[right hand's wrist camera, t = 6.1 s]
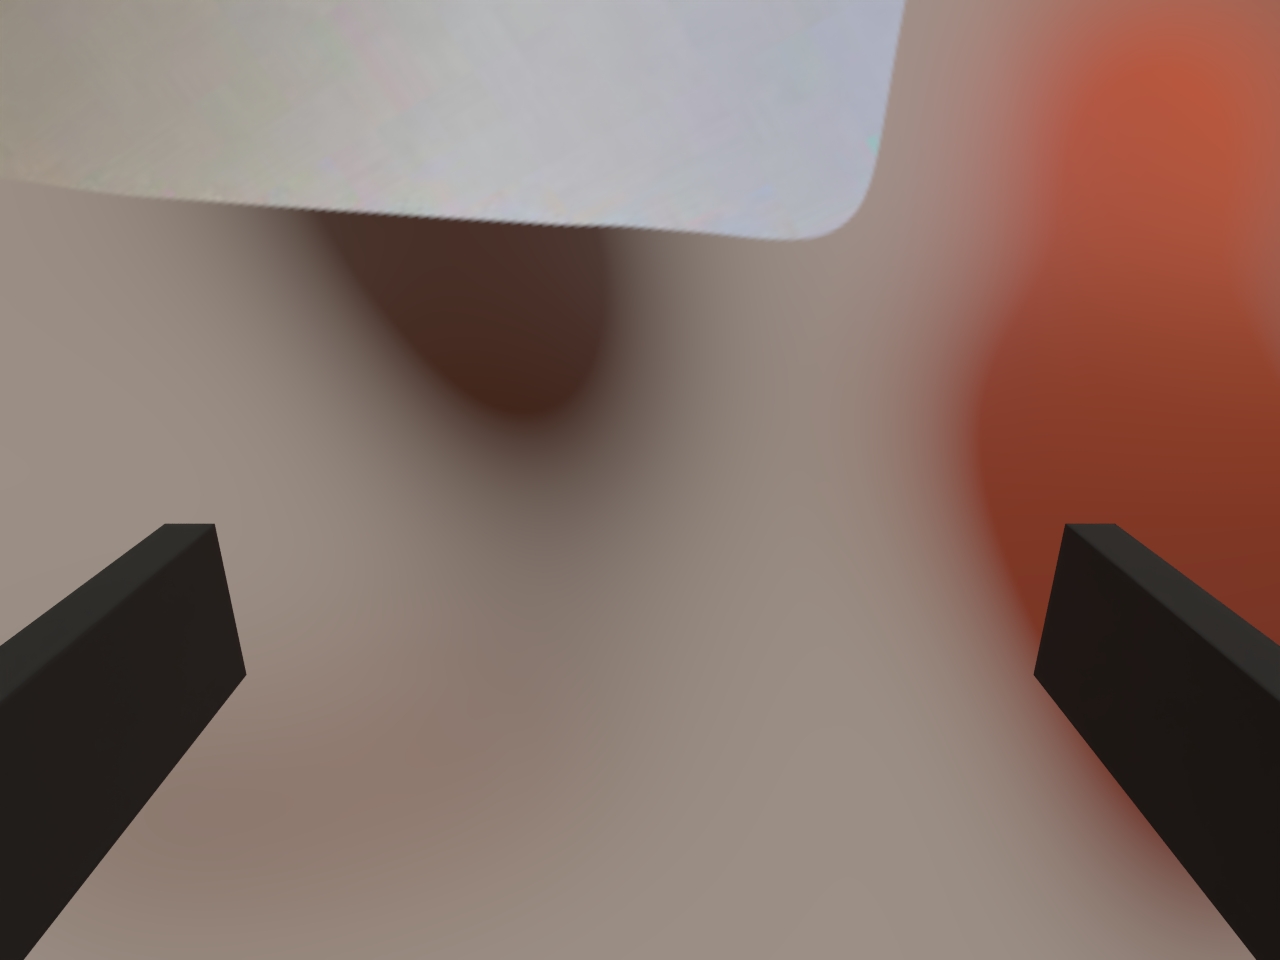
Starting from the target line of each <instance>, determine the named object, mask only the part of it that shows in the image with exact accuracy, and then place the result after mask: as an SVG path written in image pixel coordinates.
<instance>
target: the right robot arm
mask: <svg viewBox="0 0 1280 960" xmlns="http://www.w3.org/2000/svg"><path fill="white" fill-rule="evenodd" d="M245 676H246V670H245V666H244V661H243V656H242V652H241V647H240V642H239V637H238V633H237V628H236V623H235V618H234V613H233V609H232V604H231V599H230V594H229V590H228V585H227V580H226V576H225V571H224V566H223V561H222V556H221V552H220V547H219V542H218V537H217V533H216V528H215V524H164V525H163V526H161V527H160V528H159V529H157V530H156V531H155V532H153V533H152V534H151V535H149V536H148V537H147V538H145V539H144V540H142V541H141V542H140V543H138V544H137V545H136V546H134V547H133V548H132V549H130V550H129V551H128V552H126V553H125V554H124V555H122V556H121V557H120V558H118V559H117V560H116V561H114V562H113V563H112V564H110V565H109V566H108V567H106V568H105V569H103V570H102V571H101V572H99V573H98V574H97V575H95V576H94V577H93V578H91V579H90V580H89V581H87V582H86V583H85V584H83V585H82V586H81V587H79V588H78V589H76V590H75V591H74V592H72V593H71V594H70V595H68V596H67V597H66V598H64V599H63V600H62V601H60V602H59V603H58V604H56V605H55V606H54V607H52V608H51V609H50V610H48V611H47V612H45V613H44V614H43V615H41V616H40V617H39V618H37V619H36V620H35V621H33V622H32V623H31V624H29V625H28V626H27V627H25V628H24V629H23V630H21V631H20V632H19V633H17V634H16V635H15V636H13V637H12V638H11V639H9V640H8V641H6V642H5V643H4V644H2V645H1V646H0V960H24V959H25V957H26V956H27V955H28V954H29V952H30V951H31V950H32V948H33V947H34V946H35V945H36V943H37V942H38V941H39V939H40V938H41V937H42V936H43V934H44V933H45V932H46V931H47V929H48V928H49V927H50V925H51V924H52V923H53V922H54V920H55V919H56V918H57V916H58V915H59V914H60V913H61V911H62V910H63V909H64V907H65V906H66V905H67V904H68V902H69V901H70V900H71V899H72V897H73V896H74V895H75V893H76V892H77V891H78V890H79V888H80V887H81V886H82V884H83V883H84V882H85V881H86V879H87V878H88V877H89V875H90V874H91V873H92V872H93V870H94V869H95V868H96V867H97V865H98V864H99V863H100V861H101V860H102V859H103V858H104V856H105V855H106V854H107V852H108V851H109V850H110V849H111V847H112V846H113V845H114V844H115V842H116V841H117V840H118V838H119V837H120V836H121V834H122V833H123V832H124V831H125V829H126V828H127V827H128V826H129V824H130V823H131V822H132V820H133V819H134V818H135V817H136V815H137V814H138V813H139V812H140V810H141V809H142V808H143V806H144V805H145V804H146V803H147V801H148V800H149V799H150V797H151V796H152V795H153V794H154V792H155V791H156V790H157V788H158V787H159V786H160V785H161V783H162V782H163V781H164V780H165V778H166V777H167V776H168V774H169V773H170V772H171V771H172V769H173V768H174V767H175V765H176V764H177V763H178V762H179V760H180V759H181V758H182V756H183V755H184V754H185V753H186V751H187V750H188V749H189V748H190V746H191V745H192V744H193V742H194V741H195V740H196V739H197V737H198V736H199V735H200V733H201V732H202V731H203V730H204V728H205V727H206V726H207V725H208V723H209V722H210V721H211V719H212V718H213V717H214V716H215V714H216V713H217V712H218V710H219V709H220V708H221V707H222V705H223V704H224V703H225V701H226V700H227V699H228V698H229V696H230V695H231V694H232V693H233V691H234V690H235V689H236V687H237V686H238V685H239V684H240V682H241V681H242V680H243V678H244V677H245ZM1034 676H1035V677H1036V678H1037V680H1038V681H1039V682H1040V683H1041V685H1042V686H1043V687H1044V689H1045V690H1046V691H1047V693H1048V694H1049V695H1050V696H1051V698H1052V699H1053V700H1054V701H1055V703H1056V704H1057V705H1058V707H1059V708H1060V709H1061V710H1062V712H1063V713H1064V714H1065V716H1066V717H1067V718H1068V719H1069V721H1070V722H1071V723H1072V725H1073V726H1074V727H1075V728H1076V730H1077V731H1078V732H1079V733H1080V735H1081V736H1082V737H1083V739H1084V740H1085V741H1086V742H1087V744H1088V745H1089V746H1090V748H1091V749H1092V750H1093V751H1094V753H1095V754H1096V755H1097V756H1098V758H1099V759H1100V760H1101V762H1102V763H1103V764H1104V765H1105V767H1106V768H1107V769H1108V771H1109V772H1110V773H1111V774H1112V776H1113V777H1114V778H1115V780H1116V781H1117V782H1118V783H1119V785H1120V786H1121V787H1122V788H1123V790H1124V791H1125V792H1126V794H1127V795H1128V796H1129V797H1130V799H1131V800H1132V801H1133V803H1134V804H1135V805H1136V806H1137V808H1138V809H1139V810H1140V812H1141V813H1142V814H1143V815H1144V817H1145V818H1146V819H1147V820H1148V822H1149V823H1150V824H1151V826H1152V827H1153V828H1154V829H1155V831H1156V832H1157V833H1158V835H1159V836H1160V837H1161V838H1162V840H1163V841H1164V842H1165V844H1166V845H1167V846H1168V847H1169V849H1170V850H1171V851H1172V852H1173V854H1174V855H1175V856H1176V857H1177V859H1178V860H1179V861H1180V863H1181V864H1182V865H1183V867H1184V868H1185V869H1186V870H1187V872H1188V873H1189V874H1190V875H1191V877H1192V878H1193V879H1194V881H1195V882H1196V883H1197V884H1198V886H1199V887H1200V888H1201V890H1202V891H1203V892H1204V893H1205V895H1206V896H1207V897H1208V899H1209V900H1210V901H1211V902H1212V904H1213V905H1214V906H1215V907H1216V909H1217V910H1218V911H1219V913H1220V914H1221V915H1222V916H1223V918H1224V919H1225V920H1226V922H1227V923H1228V924H1229V925H1230V927H1231V928H1232V929H1233V931H1234V932H1235V933H1236V934H1237V936H1238V937H1239V938H1240V939H1241V941H1242V942H1243V943H1244V945H1245V946H1246V947H1247V948H1248V950H1249V951H1250V952H1251V954H1252V955H1253V956H1254V957H1255V959H1256V960H1280V646H1279V645H1278V644H1276V643H1275V642H1274V641H1272V640H1271V639H1270V638H1268V637H1267V636H1265V635H1264V634H1263V633H1261V632H1260V631H1259V630H1257V629H1256V628H1255V627H1253V626H1252V625H1251V624H1249V623H1248V622H1247V621H1245V620H1244V619H1243V618H1241V617H1240V616H1239V615H1237V614H1236V613H1235V612H1233V611H1232V610H1230V609H1229V608H1228V607H1226V606H1225V605H1224V604H1222V603H1221V602H1220V601H1218V600H1217V599H1216V598H1214V597H1213V596H1212V595H1210V594H1209V593H1208V592H1206V591H1205V590H1204V589H1202V588H1201V587H1199V586H1198V585H1197V584H1195V583H1194V582H1193V581H1191V580H1190V579H1189V578H1187V577H1186V576H1185V575H1183V574H1182V573H1181V572H1179V571H1178V570H1177V569H1175V568H1174V567H1173V566H1171V565H1170V564H1168V563H1167V562H1166V561H1164V560H1163V559H1162V558H1160V557H1159V556H1158V555H1156V554H1155V553H1154V552H1152V551H1151V550H1150V549H1148V548H1147V547H1146V546H1144V545H1143V544H1142V543H1140V542H1139V541H1138V540H1136V539H1135V538H1133V537H1132V536H1131V535H1129V534H1128V533H1127V532H1125V531H1124V530H1123V529H1121V528H1120V527H1119V526H1117V525H1116V524H1065V528H1064V533H1063V537H1062V542H1061V547H1060V552H1059V556H1058V561H1057V566H1056V571H1055V575H1054V580H1053V585H1052V590H1051V595H1050V599H1049V604H1048V609H1047V613H1046V618H1045V623H1044V628H1043V632H1042V637H1041V642H1040V647H1039V651H1038V656H1037V661H1036V666H1035V670H1034Z"/></svg>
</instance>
